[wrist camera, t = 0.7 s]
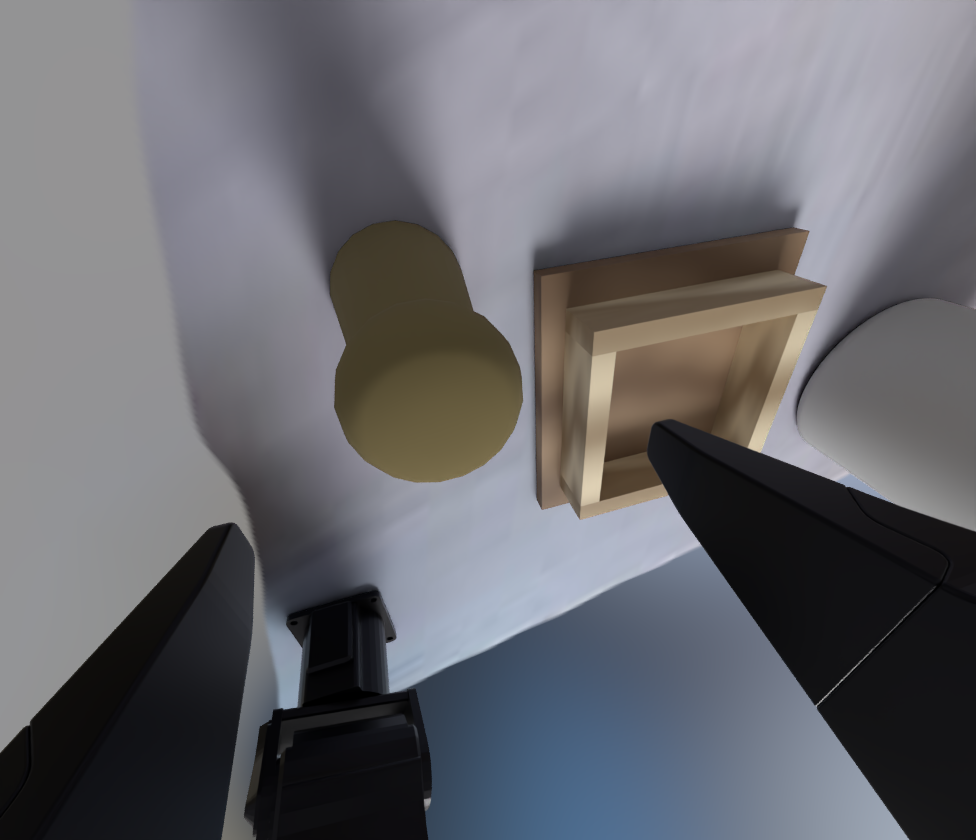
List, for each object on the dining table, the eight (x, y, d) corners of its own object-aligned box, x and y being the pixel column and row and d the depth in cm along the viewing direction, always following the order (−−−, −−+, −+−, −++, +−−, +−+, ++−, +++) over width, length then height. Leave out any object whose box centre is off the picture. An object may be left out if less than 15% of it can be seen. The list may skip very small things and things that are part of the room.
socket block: (720, 451, 32) (761, 486, 29) (536, 499, 30) (559, 544, 27) (793, 227, 23) (865, 243, 20) (533, 270, 20) (568, 297, 17)
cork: (302, 247, 17) (255, 371, 8) (441, 200, 18) (532, 272, 9) (364, 370, 21) (376, 543, 12) (478, 328, 21) (568, 468, 13)
